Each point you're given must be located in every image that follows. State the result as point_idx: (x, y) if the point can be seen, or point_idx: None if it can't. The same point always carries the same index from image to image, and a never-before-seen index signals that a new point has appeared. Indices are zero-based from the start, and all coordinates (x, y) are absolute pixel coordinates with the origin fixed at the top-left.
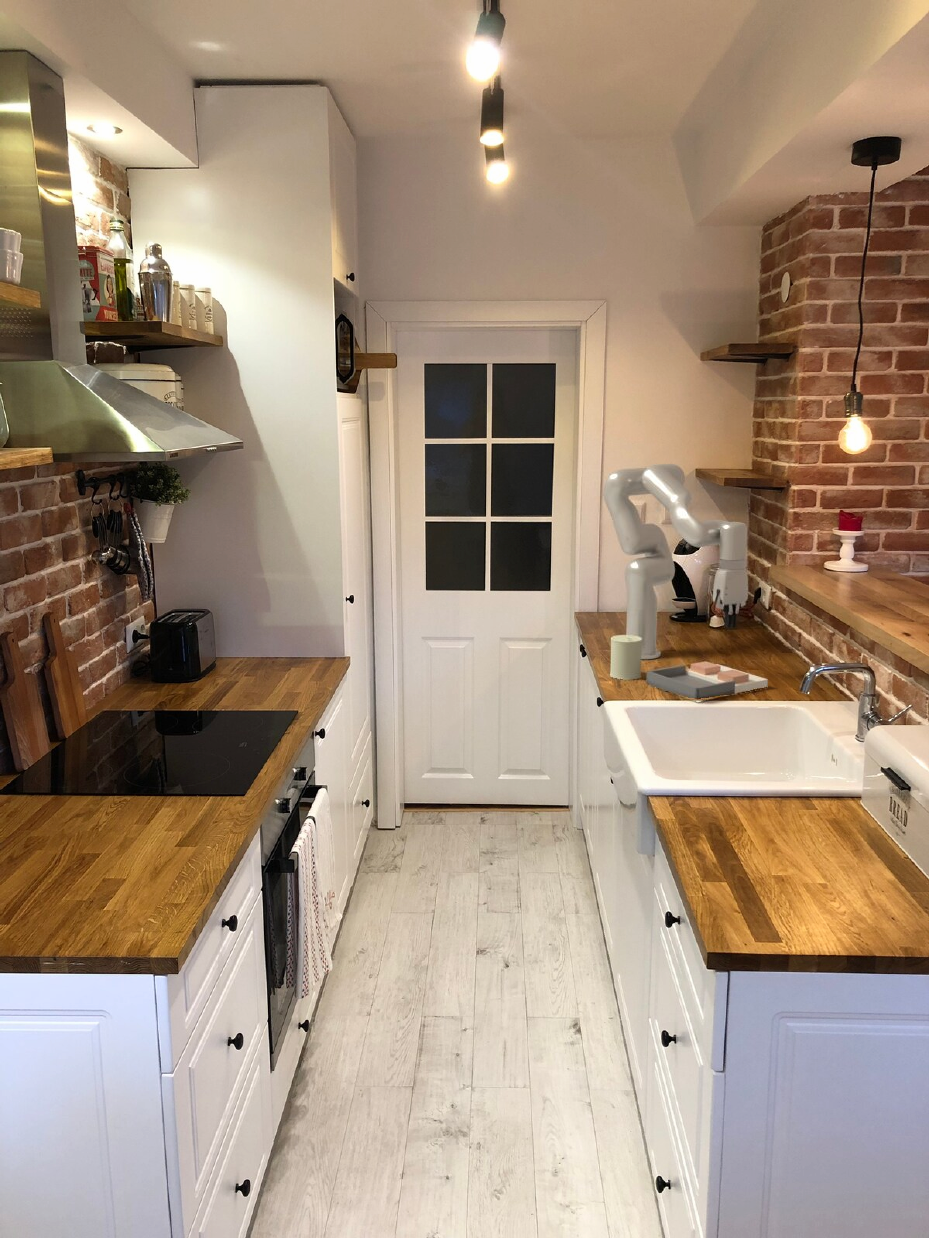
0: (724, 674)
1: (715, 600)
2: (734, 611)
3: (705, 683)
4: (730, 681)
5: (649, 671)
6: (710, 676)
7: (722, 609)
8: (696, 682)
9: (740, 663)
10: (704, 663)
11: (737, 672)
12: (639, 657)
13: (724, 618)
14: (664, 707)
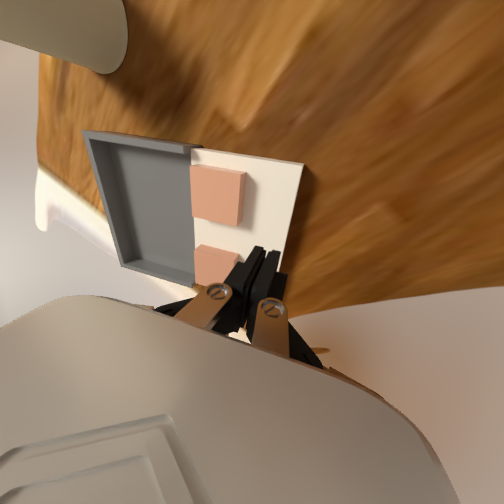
0: (195, 265)
1: (86, 306)
2: (250, 342)
3: (184, 229)
4: (184, 283)
5: (86, 135)
6: (203, 224)
7: (172, 310)
8: (174, 214)
9: (461, 142)
10: (221, 186)
11: (224, 275)
12: (55, 48)
13: (244, 262)
14: (94, 237)
